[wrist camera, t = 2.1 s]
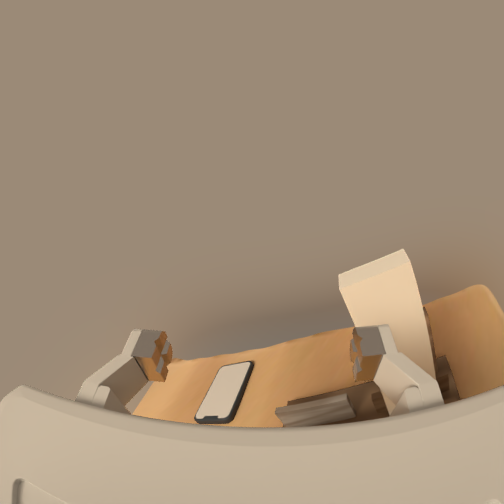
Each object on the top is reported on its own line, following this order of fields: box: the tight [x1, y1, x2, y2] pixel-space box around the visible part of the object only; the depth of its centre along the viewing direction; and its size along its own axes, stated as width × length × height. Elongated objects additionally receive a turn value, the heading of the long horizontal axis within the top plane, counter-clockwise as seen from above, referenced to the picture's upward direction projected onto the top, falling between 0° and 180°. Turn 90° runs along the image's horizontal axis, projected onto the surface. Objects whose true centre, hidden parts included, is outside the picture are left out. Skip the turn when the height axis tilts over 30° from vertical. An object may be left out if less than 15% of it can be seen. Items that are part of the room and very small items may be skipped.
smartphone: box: [194, 361, 254, 424], centre depth 54 cm, size 9×2×16 cm
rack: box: [275, 355, 460, 427], centre depth 31 cm, size 14×25×6 cm, turn 76°
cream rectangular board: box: [338, 249, 436, 415], centre depth 25 cm, size 2×6×22 cm, turn 76°
